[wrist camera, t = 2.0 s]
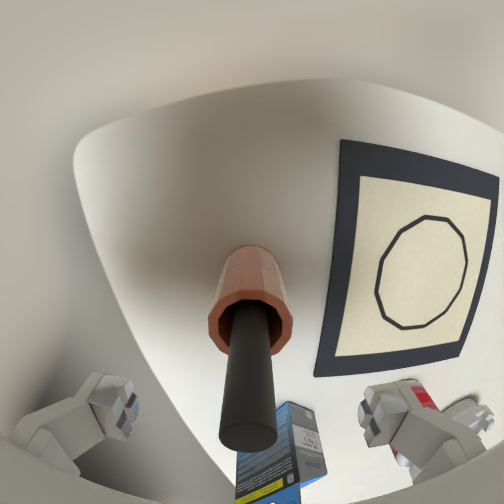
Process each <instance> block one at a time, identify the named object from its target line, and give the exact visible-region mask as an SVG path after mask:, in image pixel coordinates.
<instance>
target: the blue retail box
mask: <svg viewBox="0 0 504 504" xmlns="http://www.w3.org/2000/svg"><path fill="white" fill-rule="evenodd" d="M276 417H277V429H278V439H277V442H276V443H275V444H274V445H273V446H272V447H271V448H269V449H267V450H264V451H261V452H256V453H242V452H237V465H236V494H235V504H271V503H275V504H301V495H300V488H302V487H304V486H306V485H308V484H310V483H312V482H314V481H316V480H318V479H320V478H322V477H324V476H325V475H327V469H326V464H325V459H324V455H323V450H322V446H321V441H320V437H319V432H318V428H317V424H316V419H315V415H314V412H313V411H311V410H308V409H306V408H303V407H301V406H298V405H296V404H294V403H291V402H287V403H286V404H284V405H283V406H282V407H281V408H280V409H278V410H277V411H276Z"/></svg>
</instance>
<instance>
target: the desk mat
mask: <svg viewBox="0 0 504 504" xmlns="http://www.w3.org/2000/svg"><path fill="white" fill-rule="evenodd" d="M498 196H499V177H497V176H494V175H491V174H489V173H486V172H483V171H480V170H477V169H474V168H471V167H467V166H464V165H461V164H458V163H454V162H451V161H447V160H443V159H440V158H436V157H432V156H428V155H424V154H420V153H415V152H411V151H406V150H402V149H397V148H392V147H387V146H381V145H376V144H370V143H364V142H357V141H351V140H344V139H342V140H340V166H339V186H338V202H337V215H336V227H335V237H334V247H333V256H332V265H331V273H330V281H329V288H328V295H327V302H326V309H325V315H324V321H323V327H322V333H321V339H320V344H319V350H318V355H317V360H316V365H315V370H314V377H330V376H343V375H354V374H363V373H372V372H380V371H387V370H394V369H400V368H406V367H412V366H418V365H423V364H428V363H433V362H438V361H442V360H447V359H451V358H455V357H459V355H460V352H461V350H462V348H463V345H464V343H465V340H466V337H467V335H468V332H469V330H470V327H471V324H472V321H473V318H474V315H475V312H476V309H477V306H478V303H479V299H480V296H481V292H482V289H483V285H484V281H485V277H486V273H487V269H488V264H489V260H490V255H491V249H492V244H493V238H494V232H495V225H496V217H497V208H498Z"/></svg>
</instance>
